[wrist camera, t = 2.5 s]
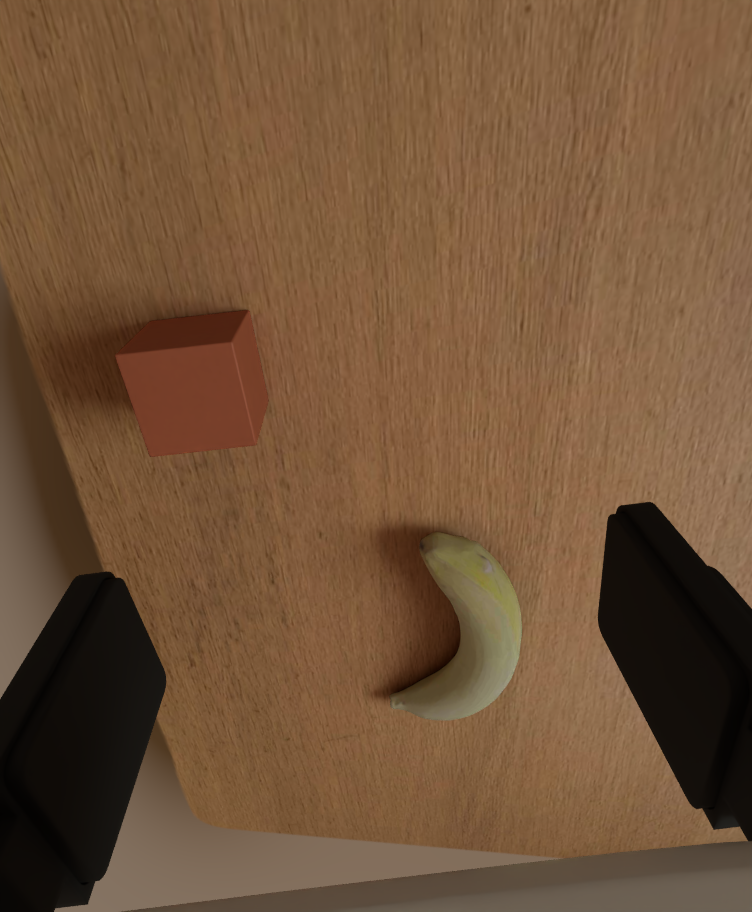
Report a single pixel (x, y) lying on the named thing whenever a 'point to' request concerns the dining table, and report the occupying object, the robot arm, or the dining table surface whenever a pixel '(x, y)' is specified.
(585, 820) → the dining table surface
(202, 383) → the block
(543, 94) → the dining table surface
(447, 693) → the fruit
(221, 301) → the dining table surface
